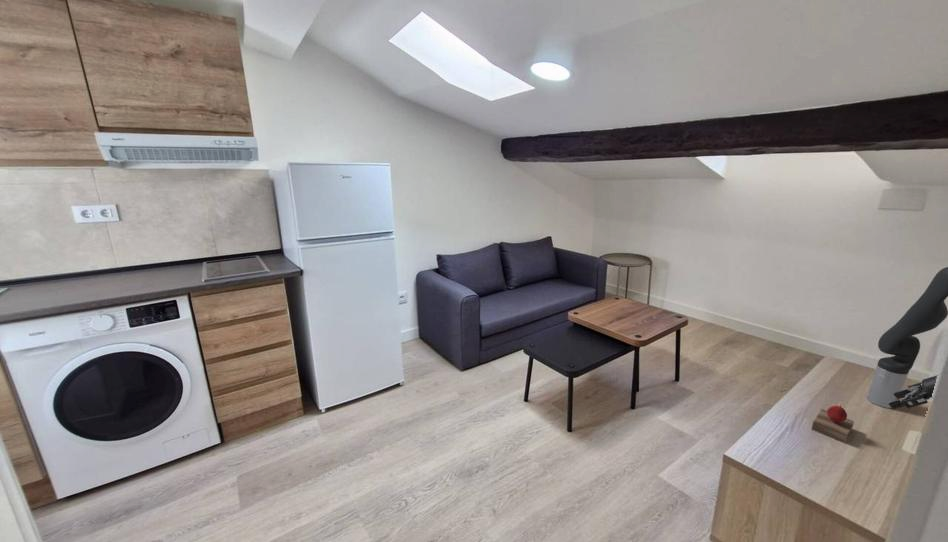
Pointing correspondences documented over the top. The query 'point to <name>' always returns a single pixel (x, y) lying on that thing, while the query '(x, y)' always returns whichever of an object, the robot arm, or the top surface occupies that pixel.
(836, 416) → the pomegranate
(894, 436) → the top surface
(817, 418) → the plinth
